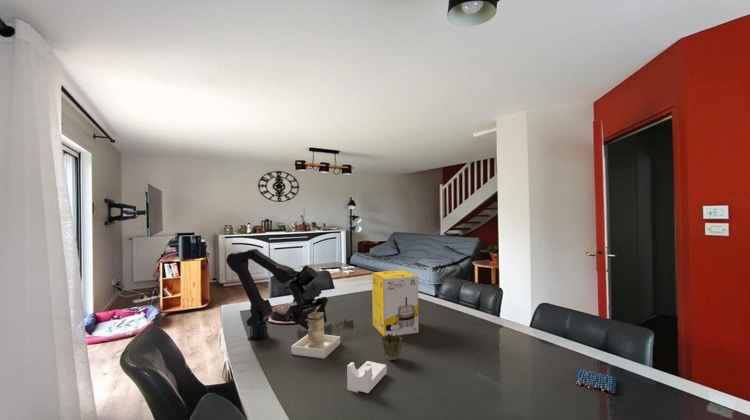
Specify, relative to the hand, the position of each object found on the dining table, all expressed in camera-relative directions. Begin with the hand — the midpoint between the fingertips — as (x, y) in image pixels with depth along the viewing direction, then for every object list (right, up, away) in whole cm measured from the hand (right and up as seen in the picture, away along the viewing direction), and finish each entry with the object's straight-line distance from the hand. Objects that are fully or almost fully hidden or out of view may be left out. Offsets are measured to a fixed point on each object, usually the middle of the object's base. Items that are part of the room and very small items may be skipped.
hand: (317, 325), depth 125 cm
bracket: (+20, -9, -25) cm, 33 cm away
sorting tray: (0, -9, 0) cm, 9 cm away
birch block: (0, -9, 0) cm, 9 cm away
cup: (+29, -9, -10) cm, 32 cm away
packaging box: (+32, -9, +21) cm, 39 cm away
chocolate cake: (-20, -11, +42) cm, 48 cm away
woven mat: (+91, -9, -27) cm, 95 cm away
